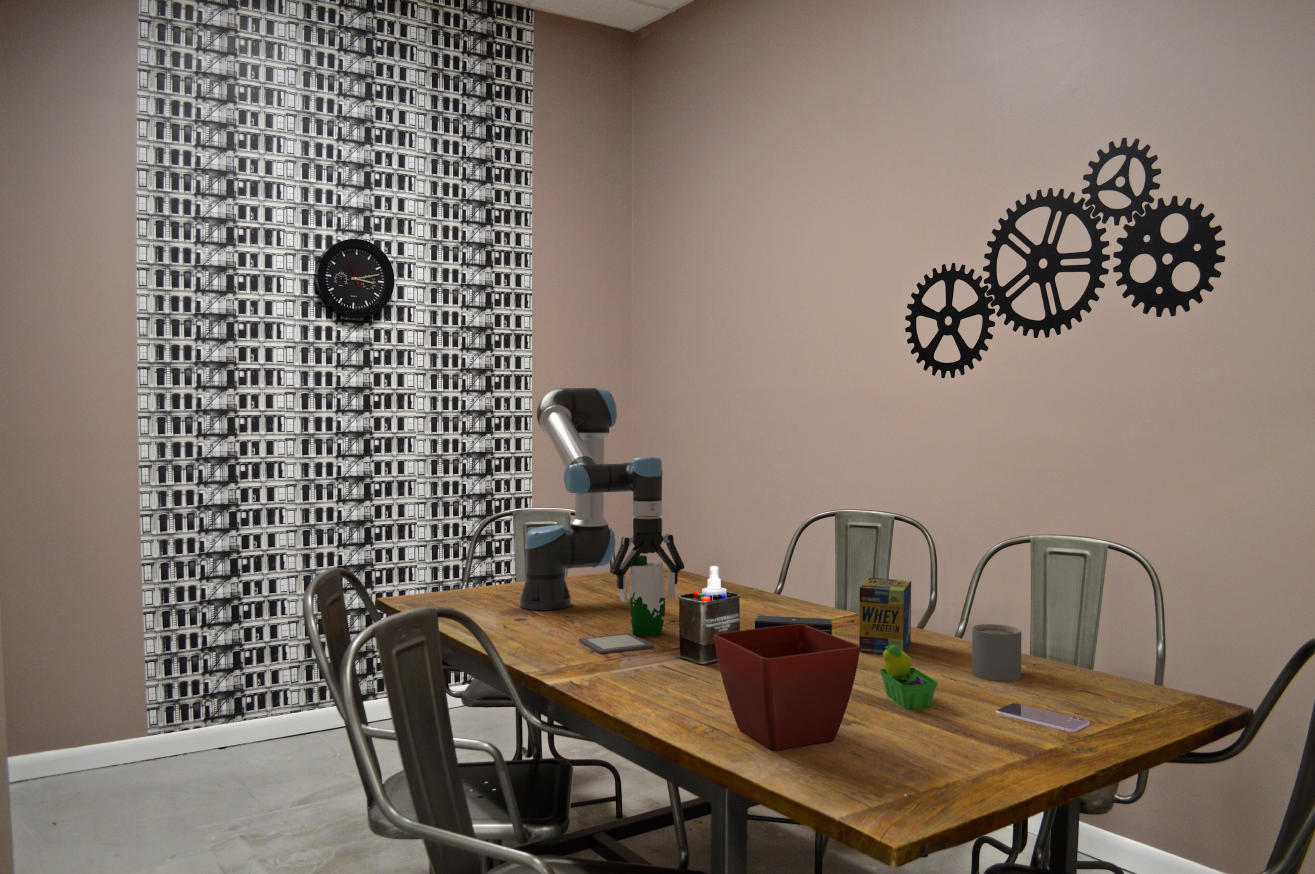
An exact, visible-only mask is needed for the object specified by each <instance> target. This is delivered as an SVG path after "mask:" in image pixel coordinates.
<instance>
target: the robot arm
mask: <svg viewBox="0 0 1315 874" xmlns="http://www.w3.org/2000/svg"><path fill="white" fill-rule="evenodd" d="M617 411H618V410H617V405H616V401H615V398H614V397H613V394H612V393H611V391H609V390H608V389H606V388H598V387H597V388H596V387H592V388H591V387H589V388H587V387H586V388H585V387H569V388H568V387H559V388H555V389H553V390H551V391H549V392H548V393H546V394H545V395H544V396H543V397H542V399H541V400H540V401H539V403H538V406H537V409H536V419H537V423H538V425H539V427H540V429H541V430H542V431H543V432H544V433H546V434H547V435H548V436H549V438H550V440H551V442H552V444H553V446H554V448H555V450H556V452H557V453H558V455H559V458H560V459H561V461H562V463H563V464H564V467H565V469H564V473H563V483H564V488H565V489H566V491H567V492H568V493H570V494H574V495H575V497H574V500H575V503H574V504H575V505H574V506H575V507H574V509H575V510H574V513H575V516H574V518H573V519H572V520H571V521H570V522H569V529H566V527H565V525H563V524H562V525H561V524H553V525H545V526H540V527H536V528H532V529H529V531H527V532H526V535H525V544H524V548H525V581H524V584H523V588H522V591H521V595H520V597H519V607H521V609H525V610H531V611H532V610H533V611H552V610H554V611H555V610H562V609H565V608H568V607H570V606H571V605H572V596H571V594H570V590H569V587H568V584H567V581H566V569H567V570H569V569H579V568H580V569H581V568H597V567H604V566H607V565H608V564H610V563H611V561H612V559H613V557H614V554H615V551H616V537H615V536H616V535H615V532H614V529H613V528H612V527H609V522H608V520H606V518H605V516H604V512H605V510H604V508H605V507H604V504H605V501H604V500H605V499H604V497H605V495H604V493H625V492H626V493H627V492H628V493H630V492H631V493H632V515H633V517H634V518H633V519H632V534H633V535H632V537H627V536H622V537H621V540H620V547H619V549H618V550H617V553H616V556H615V558H614V561H613V563H612V565H611V567H610V568H609V573H610V574H612V575H615V576H616V588H617V589H618V590H619V594H620V595H619V597H620V598H619V601H620V602H622V603H628V576H626V573H628V570H629V569H631V565H632V564H633V562H634V561H635V560H636V558H637V557H638V556H639V555H642V554H644V555H645V554H646V555H647V554H655V553H656V554H657V556H659V558H660V559H661V560H662V562H664V563H663V564H665V565H666V567H667V568H668V569H669V571H667V597H668V598H672V599H675V598H676V585H677V584H678V582H679V581H678V579H679V577H678V573H680V571H681V570H684V569H685V564H684V562H683V560H682V558H681V555H680V553H679V552H678V549H677V547H676V545H675V540H674V535H673V534H670V533H666V534H665V535H663V533H662V532H663V519H662V517H661V516H662V515H663V473H664V472H663V467H662V466H663V465H662V464H663V463H662V459H661V457H655V456H639V457H635V458H633V461H632V462H623V463H605V439H606V437H607V436H608V435H610V428H612V427H614V426H615V425H616V423H617V418H618V414H617ZM663 542H664V544H665V545H666V548H667V549H668V551H669V553H670V556H671V558H672V559H671V558H670V556H669V555H668V554H667V553H666V552H665V550H664V548H663V547H662V546H661V545H662V543H663ZM631 544H633V547H632V549H631V550H630V553H629V554H628V555H627V552H628V551H629V546H631ZM626 555H627V557H626ZM625 557H626V558H625Z"/></svg>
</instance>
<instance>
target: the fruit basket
mask: <svg viewBox="0 0 1315 874" xmlns="http://www.w3.org/2000/svg"><path fill="white" fill-rule="evenodd" d="M885 648H886V650H885V651H884V653H883V654H882V658H883V665H884V666H883V667H884V668H880V669H879V672H880V675H881V678H882V681H883V686H884V689H885V694H886V696H888V697H889V698H891V699H892V701H894V702H896V703H897V704H898V705H899V706H902V708H904V709H906V710H907V709H922V708H931V706H932V705H931V704H932V701H933V698H934V696H935V695H934V694H935V692H936V688H937V686H938V681H936V680H935V679H934V678H932V677H930V676H928V675H927V674H925V673H924V672H922V671H920V670H918V669H917V668H916V667H912V665H913V659H912V657H911V656H909V655H908V654H907V653H906V652H905V653H904V652H903V651H901V650H900V648H899V647H898V646H896V645H891V646H886V647H885Z"/></svg>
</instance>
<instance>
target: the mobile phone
mask: <svg viewBox="0 0 1315 874" xmlns="http://www.w3.org/2000/svg"><path fill="white" fill-rule="evenodd" d="M995 713H996V714H997V715H1001V716H1005V717H1009V718H1012V719H1017V720H1020V721H1025V722H1029V723H1033V724H1037V725H1040V726H1045V727H1048V728H1049V727H1050V728H1053V729H1058V730H1061V731H1065V732H1070V733H1071V732H1073V733H1075V732H1078V731H1080V730H1082V729H1084V728H1086V727H1087V726H1089V725H1090V724H1091V723H1090V721H1089V720H1088V719H1085V718H1080V717H1078V716H1077V717H1075V716H1072V715H1067V714H1062V713H1058V712H1054V711H1050V710H1045V709H1041V708H1038V707H1033V706H1029V705H1025V704H1020V703H1009V704H1008V705H1004V706H1003V707H1000V708H998V709H996V711H995Z"/></svg>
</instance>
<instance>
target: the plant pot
mask: <svg viewBox="0 0 1315 874" xmlns="http://www.w3.org/2000/svg"><path fill="white" fill-rule="evenodd" d="M713 639H714V640H713V641H714V647H715V652H716V653H715V654H716V657H717V663H718V667H719V668H718V669H719V671H720V672H719V673H720V676H721V679H722V683H723V687H724V691H725V693H726V696H727V701H728V704H729V706H730V710H731V712H732V715H733V718H734V721H735V723H736V726H737V728H738V729H739V730H740V731H741V732H744V734H746V735H747V736H749V737H751V738H752V739H754V741H755V740H756V741H757V742H758V743H760V744H762V745H763V746H765V747H766V748H768V749H770V750H771V751H772V750H773V751H778V750H779V751H780V750H787V749H791V748H796V747H797V748H798V747H801V746H807V745H812V744H813V745H814V744H818V743H824V742H829V741H834V740H835V738H836V736H837V733H838V732H839V730H840V727H841V725H842V722H843V719H844V716H845V713H846V712H847V707H848V705H849V703H850V702H849V701H850V698H851V695H852V691H853V686H854V684H855V683H854V682H855V678H856V675H857V674H856V673H857V669H858V663H859V659H860V653H861V652H860V646H859V644H858V643H857V644H856V643H854V642H851V641H848V640H846V639H843V638H841V637H837V636H835V635H833V634H830V633H828V632H826V631H823V630H820V629H817V628H814V627H812V626H809V625H807V624H802V623H797V624H796V623H794V624H788V625H787V624H785V625H778V626H768V627H761V628H754V629H753V628H751V629H743V630H734V631H724V632H716V633H714V634H713Z"/></svg>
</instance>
